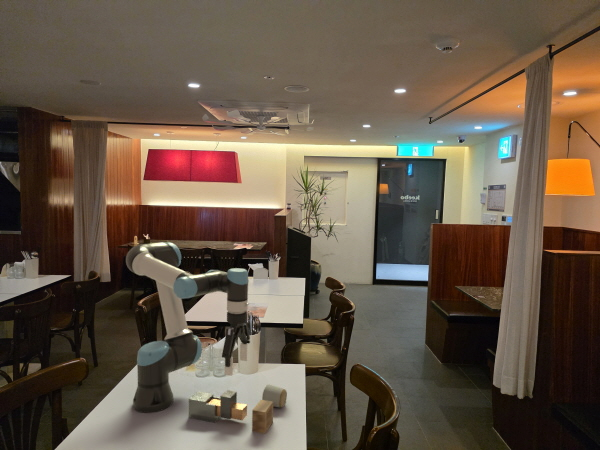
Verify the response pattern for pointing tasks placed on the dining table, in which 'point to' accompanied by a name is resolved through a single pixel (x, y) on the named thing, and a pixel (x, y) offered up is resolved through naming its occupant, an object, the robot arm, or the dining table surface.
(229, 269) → the robot arm
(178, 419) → the dining table surface
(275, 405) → the ceramic mug
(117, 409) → the dining table surface
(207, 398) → the sleeve
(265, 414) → the socket
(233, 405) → the tan wooden post
